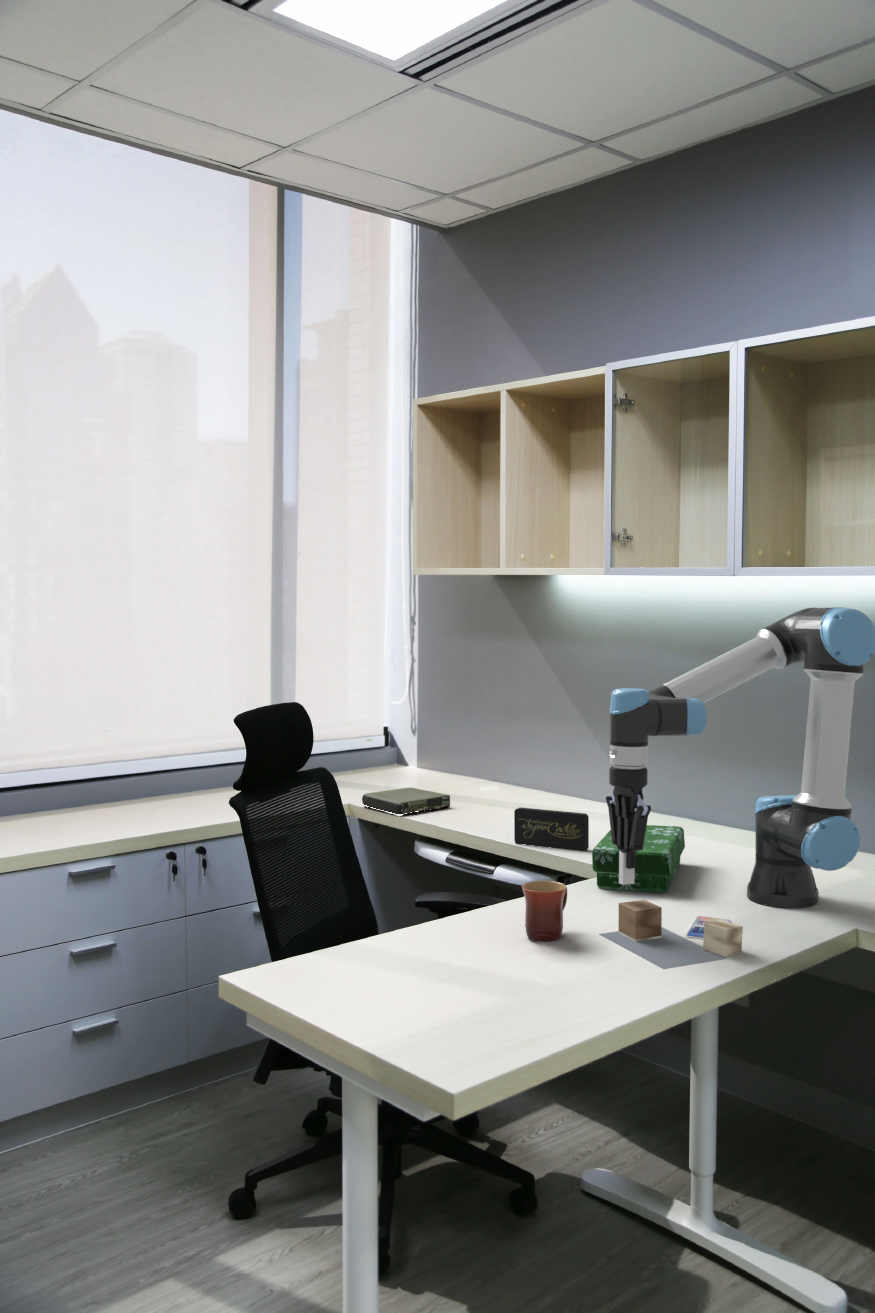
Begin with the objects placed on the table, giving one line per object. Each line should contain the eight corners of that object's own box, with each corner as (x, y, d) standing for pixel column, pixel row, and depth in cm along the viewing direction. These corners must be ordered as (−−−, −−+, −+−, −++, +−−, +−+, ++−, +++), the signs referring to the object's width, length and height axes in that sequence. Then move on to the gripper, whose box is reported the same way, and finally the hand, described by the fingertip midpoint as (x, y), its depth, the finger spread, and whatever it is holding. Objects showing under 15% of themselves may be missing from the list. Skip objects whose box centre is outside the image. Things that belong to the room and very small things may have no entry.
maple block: (719, 945, 201) (721, 919, 201) (741, 952, 197) (742, 926, 197) (702, 949, 198) (704, 923, 198) (724, 956, 194) (726, 929, 194)
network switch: (405, 819, 326) (405, 803, 326) (354, 810, 342) (354, 794, 342) (455, 808, 343) (455, 793, 343) (405, 800, 359) (404, 785, 359)
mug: (550, 947, 201) (550, 894, 200) (513, 939, 206) (513, 887, 206) (583, 932, 210) (583, 881, 210) (547, 924, 216) (546, 875, 215)
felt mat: (658, 927, 213) (657, 925, 213) (727, 960, 193) (727, 958, 193) (598, 935, 208) (598, 934, 208) (663, 970, 188) (663, 969, 188)
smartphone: (732, 919, 216) (722, 941, 202) (732, 924, 216) (722, 946, 203) (696, 915, 219) (683, 936, 205) (696, 919, 219) (683, 941, 205)
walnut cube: (644, 929, 211) (644, 899, 211) (661, 937, 205) (661, 907, 205) (618, 933, 208) (618, 903, 208) (635, 941, 203) (635, 911, 203)
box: (670, 897, 236) (671, 853, 236) (590, 890, 242) (590, 847, 242) (686, 864, 266) (686, 825, 266) (614, 859, 272) (614, 821, 272)
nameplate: (514, 844, 290) (514, 808, 289) (517, 842, 291) (517, 807, 291) (586, 852, 280) (586, 815, 279) (588, 850, 281) (588, 813, 281)
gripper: (595, 762, 214) (593, 877, 215) (630, 771, 202) (628, 893, 203) (626, 760, 217) (624, 874, 218) (663, 769, 205) (661, 889, 206)
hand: (626, 883), depth 210 cm, fingers closed
